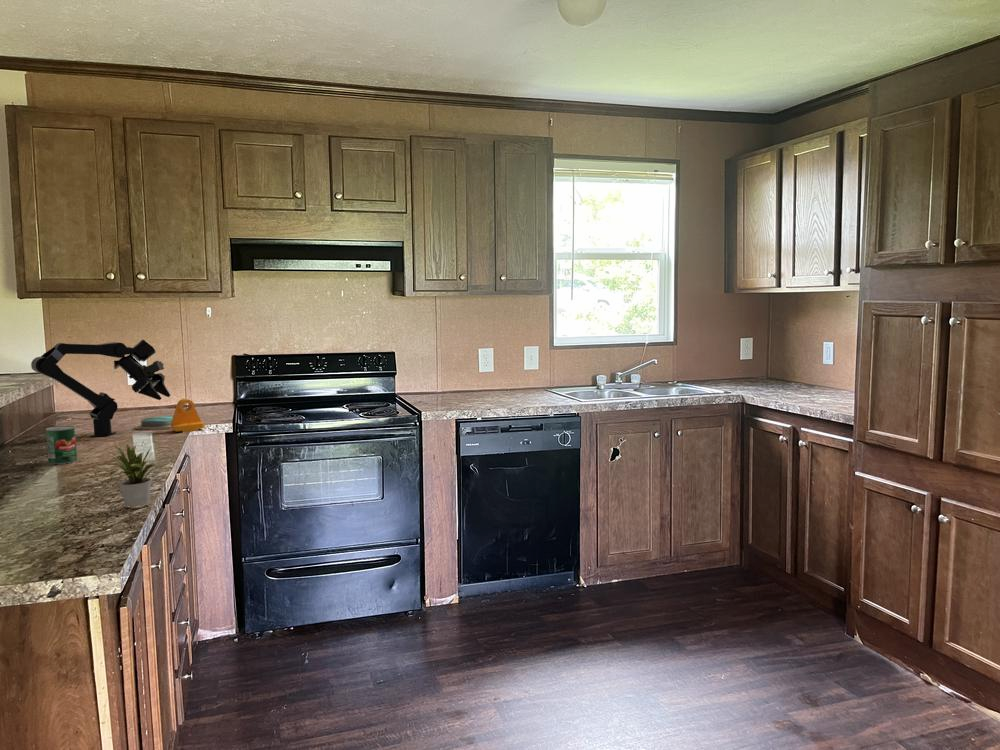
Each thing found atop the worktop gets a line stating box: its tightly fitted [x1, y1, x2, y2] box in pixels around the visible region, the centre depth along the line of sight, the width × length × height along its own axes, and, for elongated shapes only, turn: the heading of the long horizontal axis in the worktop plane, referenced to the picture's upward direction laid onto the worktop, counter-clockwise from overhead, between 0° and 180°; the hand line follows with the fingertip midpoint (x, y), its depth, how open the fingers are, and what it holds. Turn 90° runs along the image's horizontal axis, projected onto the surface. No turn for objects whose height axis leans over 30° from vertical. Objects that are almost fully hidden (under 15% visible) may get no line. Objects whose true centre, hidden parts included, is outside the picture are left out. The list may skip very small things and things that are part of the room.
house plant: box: [102, 443, 163, 507], centre depth 184 cm, size 14×14×16 cm
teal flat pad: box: [134, 415, 173, 430], centre depth 298 cm, size 14×14×3 cm
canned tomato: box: [45, 425, 78, 466], centre depth 236 cm, size 8×8×11 cm
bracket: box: [170, 398, 205, 433], centre depth 287 cm, size 11×7×12 cm, turn 126°
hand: (165, 397), depth 288 cm, fingers open, 9 cm apart
